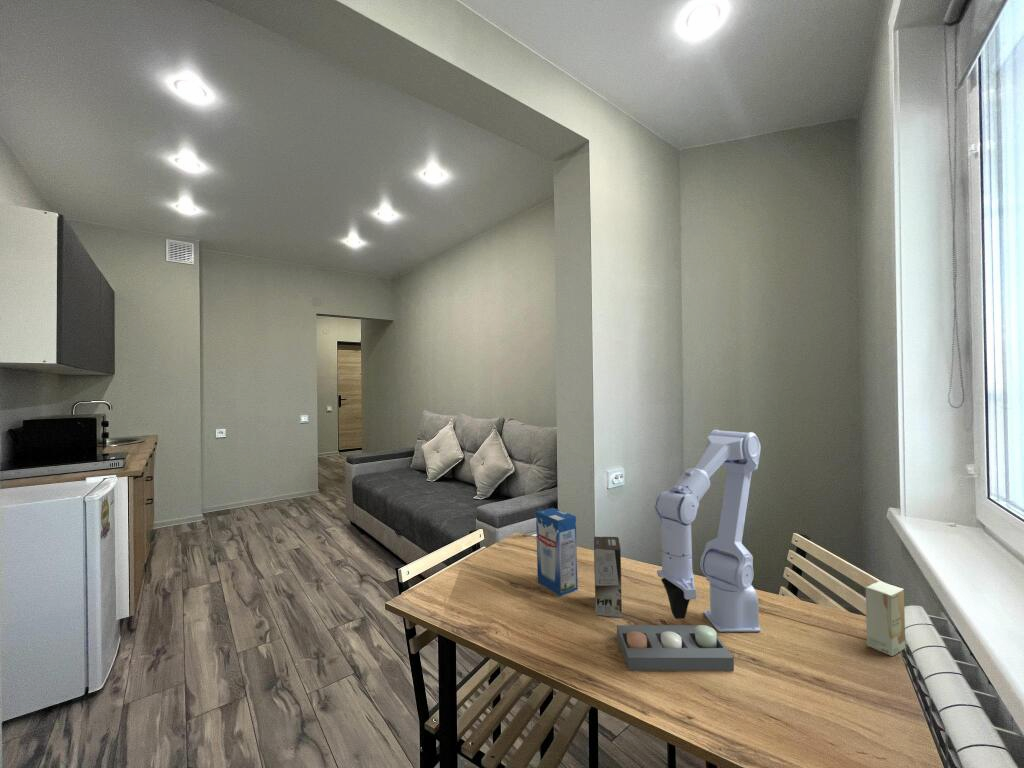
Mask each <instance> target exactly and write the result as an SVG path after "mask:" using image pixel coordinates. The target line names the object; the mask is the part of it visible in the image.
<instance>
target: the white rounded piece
mask: <svg viewBox="0 0 1024 768" xmlns="http://www.w3.org/2000/svg"><path fill="white" fill-rule="evenodd" d="M661 645H662V647H663V648H682V638H681V636H680V635H678V634H677V633H674V632H670V631H666V632H663V633H661Z"/></svg>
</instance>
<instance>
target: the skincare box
mask: <svg viewBox="0 0 1024 768" xmlns="http://www.w3.org/2000/svg"><path fill="white" fill-rule="evenodd" d="M865 611H866V612H865V613H866V615H865V616H866V646H867V647H870V648H873V649H874V650H877V651H879V652H881V653H884V654H886V655H889V656H890V657H893V656H895V655H897V654H899V653H900V652H902V651H904V649H906V623H905V622H906V621H905V620H906V618H905V589H904V588H902V587H898V586H896V585H892V584H889V583H887V582H883V581H879V580H878V581H876V582H874V583H872V584H870V585H867V586H865ZM898 652H899V653H898Z"/></svg>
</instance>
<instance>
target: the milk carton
mask: <svg viewBox="0 0 1024 768" xmlns="http://www.w3.org/2000/svg"><path fill="white" fill-rule="evenodd" d="M535 519H536V520H535V523H536V528H535V529H536V531H535V532H536V563H537V569H536V570H537V571H536V572H537V584H539V583H540V585H541V586H543V587H544V588H546V589H547V590H549V591H551V592H552V593H554V594H555V595H557V596H558V597H562V596H563V597H564V596H566V595H567V594H571V593H573V592H575V590H576V591H578V555H577V554H578V553H577V552H578V551H577V550H578V549H577V548H578V547H577V546H578V545H577V516H576V515H574V514H571V513H568V512H566V511H563V510H560V509H558V508H554V507H551V508H547V509H543V510H538V511H535ZM570 592H571V593H570Z"/></svg>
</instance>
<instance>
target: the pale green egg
mask: <svg viewBox="0 0 1024 768" xmlns="http://www.w3.org/2000/svg"><path fill="white" fill-rule="evenodd" d="M697 625H698V626H696V627H695V644H696V645H697V647H698V648H717V641H716V635H717V630H716V629H714V628H713V627H711V626H710V625H709V626H710V627H709V626H705V625H706V624H703V625H702V624H697Z"/></svg>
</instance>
